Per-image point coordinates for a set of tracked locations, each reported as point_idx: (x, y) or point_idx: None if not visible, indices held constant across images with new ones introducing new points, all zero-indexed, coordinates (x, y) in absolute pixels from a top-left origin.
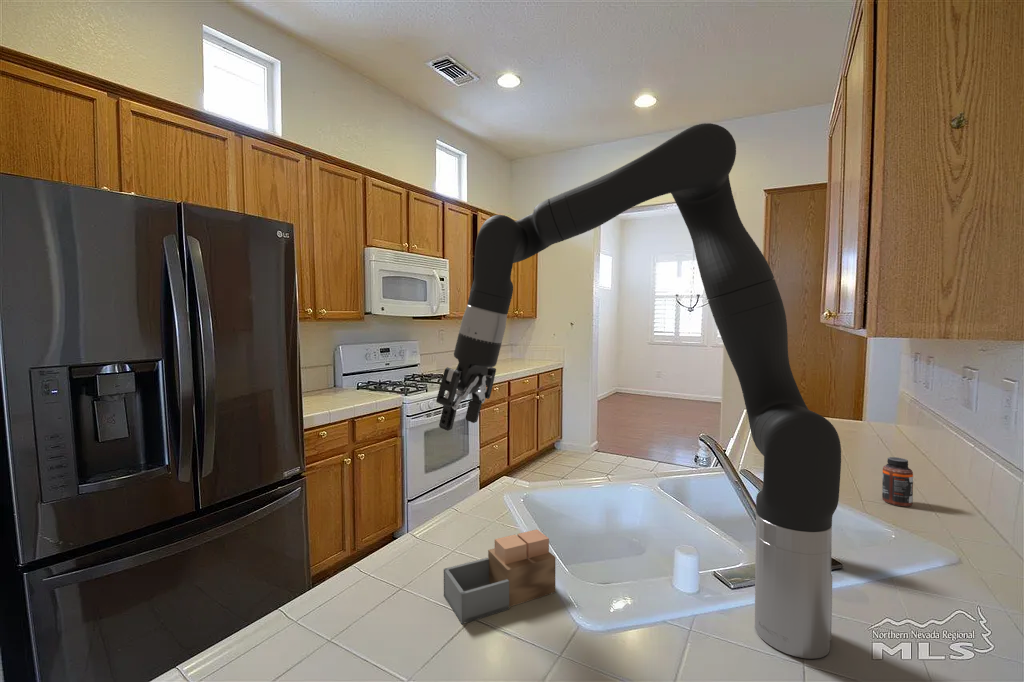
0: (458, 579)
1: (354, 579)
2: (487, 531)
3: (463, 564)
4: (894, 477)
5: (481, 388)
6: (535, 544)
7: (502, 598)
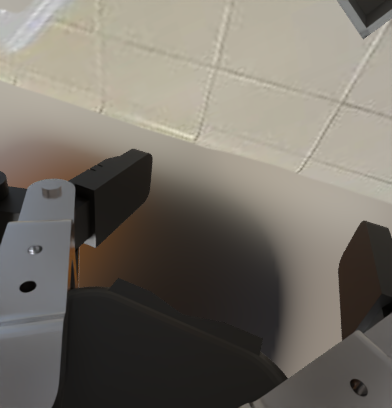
0: (354, 4)
1: (323, 169)
2: (136, 32)
3: (342, 3)
4: None
5: (67, 279)
6: None
7: None
